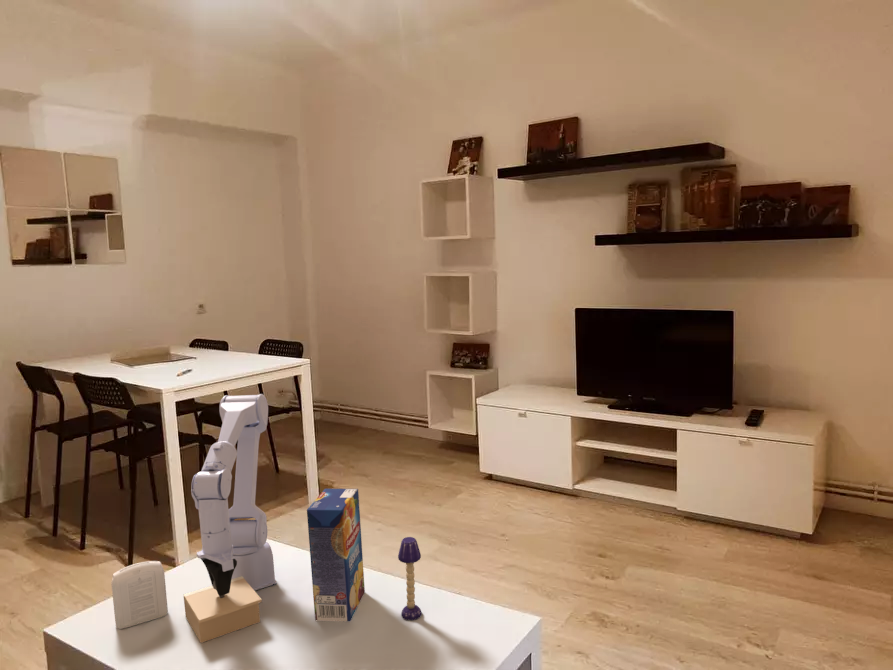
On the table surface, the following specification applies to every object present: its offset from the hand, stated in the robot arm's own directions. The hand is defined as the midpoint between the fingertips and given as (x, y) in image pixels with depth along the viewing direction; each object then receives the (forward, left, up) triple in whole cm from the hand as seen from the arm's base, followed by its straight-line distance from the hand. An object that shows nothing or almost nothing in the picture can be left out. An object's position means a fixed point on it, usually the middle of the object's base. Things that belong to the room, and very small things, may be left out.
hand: (221, 590), depth 139 cm
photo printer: (+14, -12, -7) cm, 20 cm away
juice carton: (-22, +10, -7) cm, 25 cm away
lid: (0, 0, -2) cm, 2 cm away
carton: (0, -1, -7) cm, 7 cm away
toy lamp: (-32, +23, -7) cm, 40 cm away
